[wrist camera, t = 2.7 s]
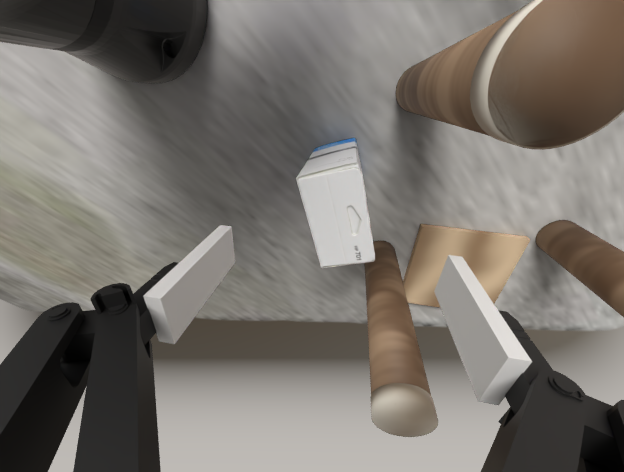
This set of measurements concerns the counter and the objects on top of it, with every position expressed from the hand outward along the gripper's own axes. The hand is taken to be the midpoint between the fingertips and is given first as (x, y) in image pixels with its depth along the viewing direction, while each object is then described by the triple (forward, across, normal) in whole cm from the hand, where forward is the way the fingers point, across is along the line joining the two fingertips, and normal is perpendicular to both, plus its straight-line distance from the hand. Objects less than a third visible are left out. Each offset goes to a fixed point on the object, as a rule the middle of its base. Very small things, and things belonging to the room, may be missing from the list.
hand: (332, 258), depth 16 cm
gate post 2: (+16, +6, +10) cm, 20 cm away
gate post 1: (+16, +6, -9) cm, 20 cm away
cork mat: (+16, +16, -10) cm, 25 cm away
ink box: (+16, 0, 0) cm, 17 cm away
